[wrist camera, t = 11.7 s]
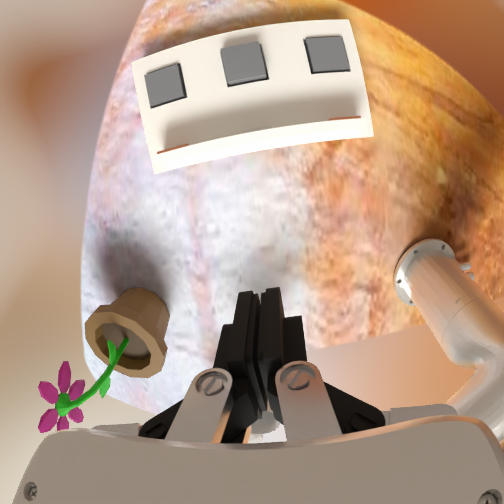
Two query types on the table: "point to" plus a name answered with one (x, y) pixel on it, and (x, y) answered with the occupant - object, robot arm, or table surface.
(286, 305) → the table surface
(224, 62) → the button middle
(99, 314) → the flowerpot
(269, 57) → the button board
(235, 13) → the table surface
